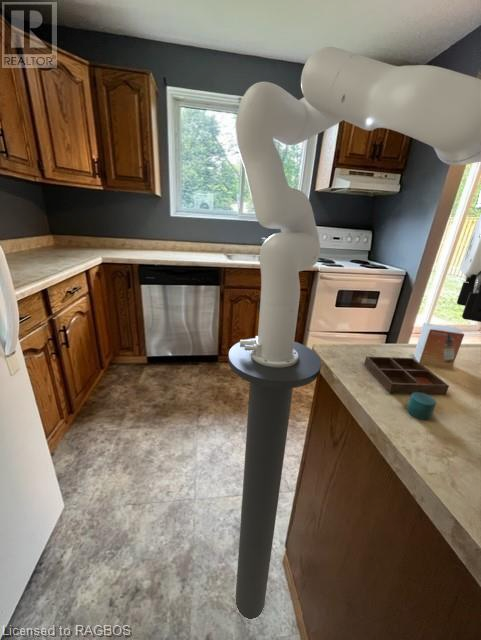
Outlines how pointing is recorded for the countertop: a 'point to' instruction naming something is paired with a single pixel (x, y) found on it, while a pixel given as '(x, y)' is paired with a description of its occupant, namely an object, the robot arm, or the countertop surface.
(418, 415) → the teal cylinder
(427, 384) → the grid
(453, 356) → the small box
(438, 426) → the countertop surface
